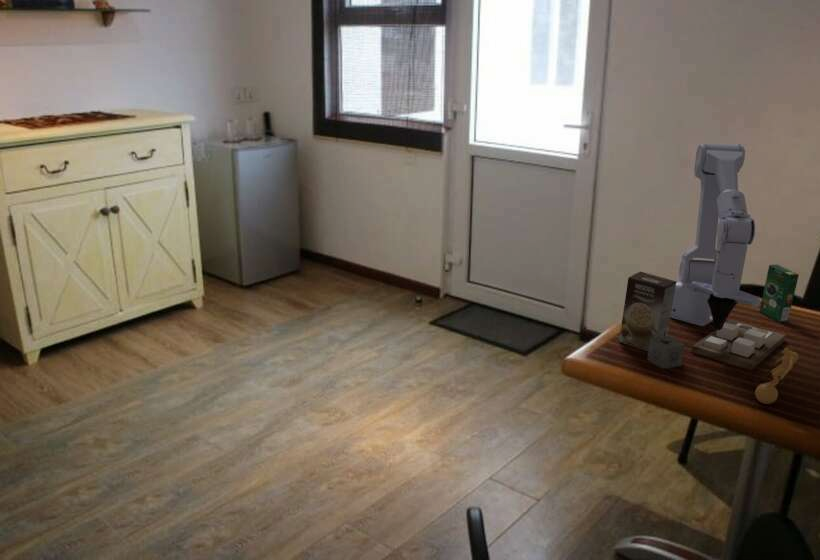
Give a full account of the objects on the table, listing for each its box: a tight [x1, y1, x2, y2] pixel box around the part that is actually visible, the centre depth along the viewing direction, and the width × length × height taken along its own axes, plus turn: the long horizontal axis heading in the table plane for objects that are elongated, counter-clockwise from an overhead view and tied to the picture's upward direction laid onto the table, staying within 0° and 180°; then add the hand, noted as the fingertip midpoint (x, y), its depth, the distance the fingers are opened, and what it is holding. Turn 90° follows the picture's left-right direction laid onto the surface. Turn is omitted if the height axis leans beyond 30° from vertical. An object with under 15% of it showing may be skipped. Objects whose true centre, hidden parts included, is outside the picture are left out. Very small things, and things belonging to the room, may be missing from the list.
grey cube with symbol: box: [646, 335, 685, 370], centre depth 158 cm, size 5×5×5 cm
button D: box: [731, 337, 756, 358], centre depth 160 cm, size 4×4×3 cm
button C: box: [704, 336, 728, 351], centre depth 164 cm, size 4×4×3 cm
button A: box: [716, 321, 739, 342], centre depth 169 cm, size 4×4×3 cm
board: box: [691, 319, 787, 371], centre depth 168 cm, size 13×23×2 cm, turn 137°
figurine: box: [754, 347, 799, 405], centre depth 140 cm, size 8×6×12 cm
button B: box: [743, 329, 766, 349], centre depth 165 cm, size 4×4×3 cm
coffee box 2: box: [759, 264, 799, 323], centre depth 185 cm, size 8×3×13 cm, turn 13°
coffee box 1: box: [618, 271, 677, 353], centre depth 165 cm, size 9×6×16 cm
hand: (717, 328), depth 163 cm, fingers closed
